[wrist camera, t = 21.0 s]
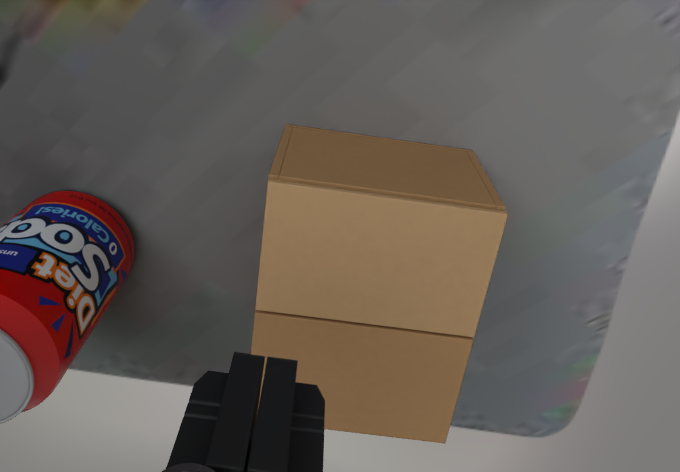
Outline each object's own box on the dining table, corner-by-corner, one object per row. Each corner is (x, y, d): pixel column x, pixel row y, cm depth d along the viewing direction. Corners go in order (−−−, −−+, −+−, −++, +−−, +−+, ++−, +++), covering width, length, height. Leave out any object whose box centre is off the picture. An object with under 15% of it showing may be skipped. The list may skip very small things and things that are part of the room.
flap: (268, 178, 31) (267, 181, 31) (506, 211, 32) (508, 214, 31) (256, 306, 34) (255, 310, 34) (472, 333, 35) (474, 337, 35)
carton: (285, 123, 40) (266, 180, 31) (472, 150, 41) (509, 213, 31) (264, 323, 46) (243, 420, 37) (426, 344, 47) (446, 444, 38)
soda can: (29, 283, 45) (-107, 431, 32) (17, 179, 42) (-142, 295, 28) (141, 293, 45) (53, 445, 32) (137, 191, 42) (37, 311, 29)
